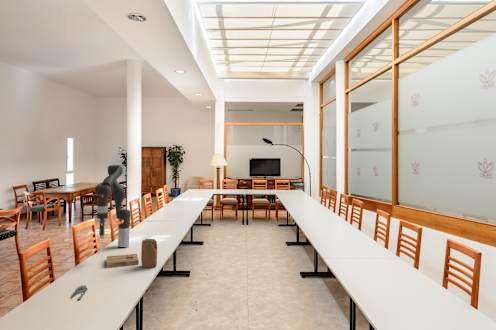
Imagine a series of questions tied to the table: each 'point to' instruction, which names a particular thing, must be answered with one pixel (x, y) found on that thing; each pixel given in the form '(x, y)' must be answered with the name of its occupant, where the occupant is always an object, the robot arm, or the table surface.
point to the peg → (99, 232)
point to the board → (122, 260)
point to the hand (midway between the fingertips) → (102, 234)
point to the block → (149, 253)
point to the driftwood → (79, 291)
